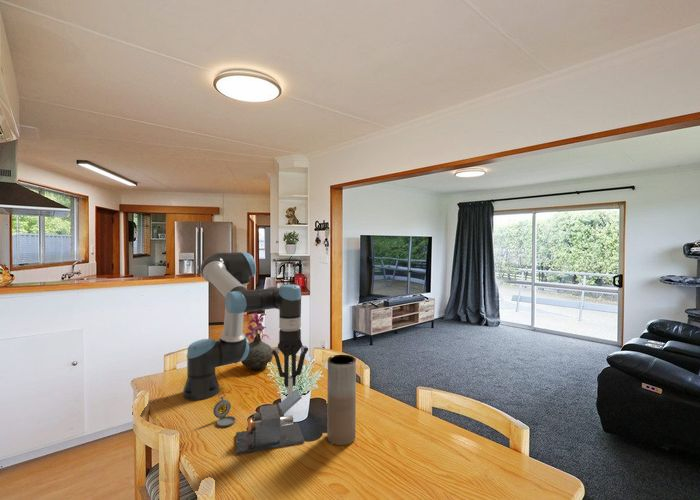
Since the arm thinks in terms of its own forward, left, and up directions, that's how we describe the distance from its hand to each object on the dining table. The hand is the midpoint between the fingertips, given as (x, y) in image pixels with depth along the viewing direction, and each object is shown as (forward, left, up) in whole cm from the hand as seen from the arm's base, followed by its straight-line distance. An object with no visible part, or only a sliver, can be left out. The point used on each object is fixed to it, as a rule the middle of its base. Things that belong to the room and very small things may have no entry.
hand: (289, 395), depth 120 cm
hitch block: (0, -8, -14) cm, 16 cm away
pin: (0, -7, -11) cm, 13 cm away
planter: (+7, +17, -15) cm, 23 cm away
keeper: (0, -3, -5) cm, 6 cm away
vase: (-72, -7, -15) cm, 74 cm away
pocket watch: (-17, -22, -15) cm, 31 cm away
